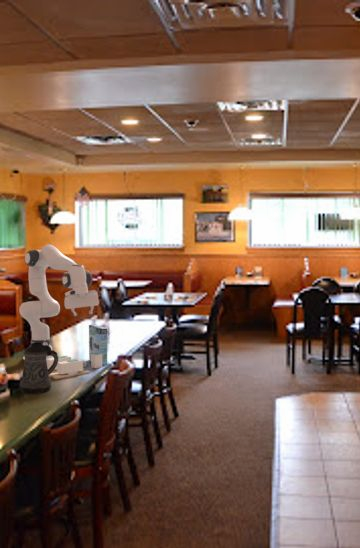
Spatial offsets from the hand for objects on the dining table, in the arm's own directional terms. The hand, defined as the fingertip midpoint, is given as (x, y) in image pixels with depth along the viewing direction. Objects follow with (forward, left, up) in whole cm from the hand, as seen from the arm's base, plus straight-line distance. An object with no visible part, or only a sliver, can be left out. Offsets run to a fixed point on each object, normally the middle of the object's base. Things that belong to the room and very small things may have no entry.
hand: (83, 314), depth 368 cm
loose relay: (-18, +8, -35) cm, 40 cm away
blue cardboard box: (-22, +23, -35) cm, 47 cm away
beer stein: (+14, -37, -35) cm, 53 cm away
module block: (-11, +15, -35) cm, 39 cm away
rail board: (-10, -8, -35) cm, 37 cm away
